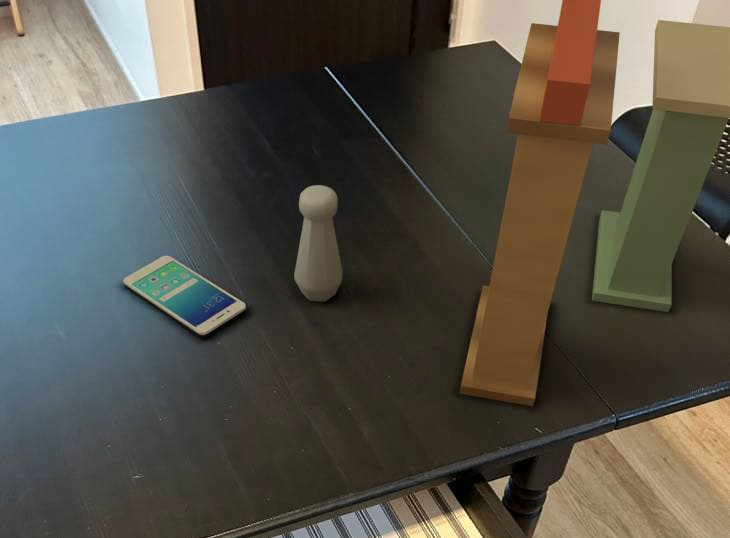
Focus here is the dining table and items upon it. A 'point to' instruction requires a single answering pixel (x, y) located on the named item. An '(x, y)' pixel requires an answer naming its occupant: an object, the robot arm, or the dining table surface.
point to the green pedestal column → (666, 166)
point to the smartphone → (185, 296)
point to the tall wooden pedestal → (535, 221)
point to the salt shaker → (318, 245)
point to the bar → (571, 62)
